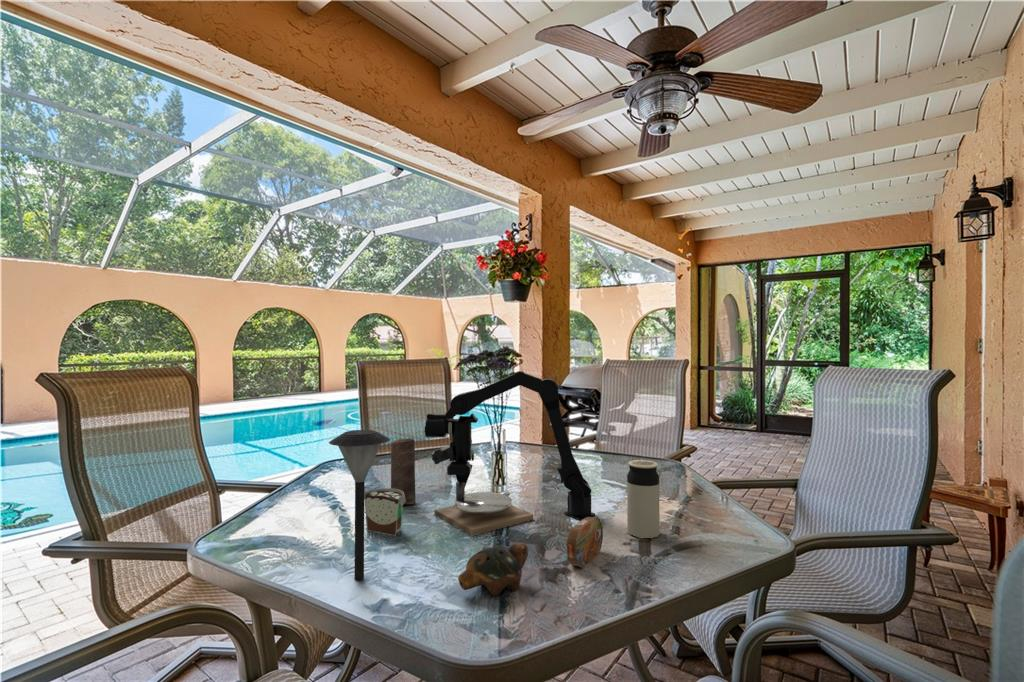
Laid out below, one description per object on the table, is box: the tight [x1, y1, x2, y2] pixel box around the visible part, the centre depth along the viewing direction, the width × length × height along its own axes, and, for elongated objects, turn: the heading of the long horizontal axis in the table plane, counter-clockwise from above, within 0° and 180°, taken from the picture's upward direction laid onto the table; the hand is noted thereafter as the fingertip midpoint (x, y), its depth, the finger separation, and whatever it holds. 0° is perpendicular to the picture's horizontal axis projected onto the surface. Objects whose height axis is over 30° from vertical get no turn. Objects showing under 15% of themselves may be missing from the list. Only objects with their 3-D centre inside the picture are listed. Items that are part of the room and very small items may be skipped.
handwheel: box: [454, 480, 513, 514], centre depth 138 cm, size 16×16×8 cm
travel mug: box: [626, 459, 661, 539], centre depth 125 cm, size 8×8×18 cm
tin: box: [566, 516, 604, 569], centre depth 110 cm, size 15×3×8 cm, turn 148°
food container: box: [364, 487, 406, 537], centre depth 128 cm, size 12×6×10 cm, turn 65°
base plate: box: [434, 504, 534, 537], centre depth 137 cm, size 20×20×2 cm
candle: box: [390, 437, 416, 505], centre depth 150 cm, size 8×7×20 cm
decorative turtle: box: [457, 542, 529, 597], centre depth 96 cm, size 10×15×8 cm, turn 126°
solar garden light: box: [328, 429, 391, 582], centre depth 100 cm, size 12×12×30 cm
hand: (461, 491), depth 141 cm, fingers closed
